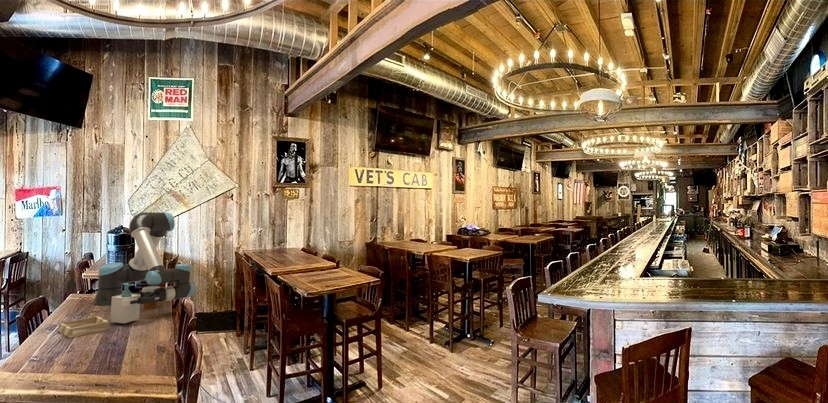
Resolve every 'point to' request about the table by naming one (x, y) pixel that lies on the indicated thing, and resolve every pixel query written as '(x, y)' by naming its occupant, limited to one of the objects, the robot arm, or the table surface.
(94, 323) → the caddy
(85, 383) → the table surface
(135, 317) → the soap bottle
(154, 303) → the disposable coffee cup
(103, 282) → the robot arm
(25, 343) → the table surface
